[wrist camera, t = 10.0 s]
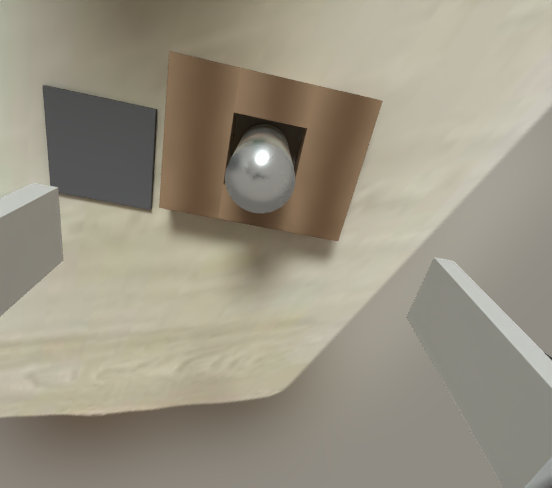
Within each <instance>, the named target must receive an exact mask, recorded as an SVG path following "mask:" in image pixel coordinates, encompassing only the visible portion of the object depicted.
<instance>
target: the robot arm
mask: <svg viewBox="0 0 552 488" xmlns="http://www.w3.org/2000/svg"><path fill="white" fill-rule="evenodd" d="M62 261H63V249H62V235H61V221H60V206H59V192H58V187H54V186H48V185H43V184H38V183H32V184H30V185H27V186H25V187H23V188H21V189H18V190H16V191H14V192H12V193H10V194H7V195H5V196H3V197H1V198H0V316H1V315H2V314H3V313H5V312H6V311H7V310H8V309H9V308H10V307H11V306H12V305H14V304H15V303H16V302H17V301H18V300H19V299H20V298H21V297H23V296H24V295H25V294H26V293H27V292H28V291H29V290H30V289H32V288H33V287H34V286H35V285H36V284H37V283H38V282H39V281H40V280H42V279H43V278H44V277H45V276H46V275H47V274H48V273H49V272H51V271H52V270H53V269H54V268H55V267H56V266H57V265H58V264H60V263H61V262H62ZM407 319H408V321H409V323H410V325H411V326H412V328H413V329H414V332H415V333H416V335H417V337H418V339H419V340H420V342H421V344H422V346H423V347H424V349H425V351H426V353H427V355H428V356H429V358H430V360H431V362H432V364H433V365H434V367H435V369H436V371H437V372H438V374H439V376H440V378H441V380H442V381H443V383H444V385H445V387H446V389H447V390H448V392H449V394H450V395H451V397H452V399H453V401H454V403H455V405H456V406H457V408H458V410H459V412H460V413H461V415H462V417H463V419H464V420H465V422H466V424H467V426H468V428H469V429H470V431H471V433H472V435H473V436H474V438H475V440H476V442H477V444H478V445H479V447H480V449H481V450H482V453H483V454H484V456H485V458H486V460H487V461H488V463H489V465H490V467H491V468H492V470H493V472H494V474H495V475H496V477H497V479H498V481H499V483H500V485H501V486H502V488H552V358H551V357H550V356H549V355H547V354H546V353H544V352H543V351H542V350H541V349H540V348H539V347H538V346H537V345H536V344H535V343H534V342H533V341H532V340H531V339H530V338H529V337H528V336H527V335H526V334H525V333H524V332H523V331H522V330H521V329H520V328H519V327H518V326H517V325H516V324H515V323H514V322H513V321H512V320H511V319H510V318H509V317H508V316H507V315H506V314H505V313H504V312H503V311H502V310H501V309H500V308H499V307H498V306H497V304H495V302H494V301H493V300H491V298H490V297H488V295H486V293H485V292H484V291H483V290H481V288H480V287H479V286H478V285H477V284H476V283H475V282H474V281H473V280H472V279H471V278H470V277H469V276H468V275H467V274H466V273H465V272H464V271H463V270H462V269H461V268H460V267H459V266H458V265H457V264H456V263H455V262H454V261H451V260H445V259H440V258H435V257H434V259H433V261H432V263H431V265H430V267H429V269H428V271H427V273H426V276H425V278H424V280H423V282H422V284H421V286H420V289H419V291H418V293H417V296H416V297H415V299H414V302H413V304H412V306H411V308H410V310H409V312H408V314H407Z"/></svg>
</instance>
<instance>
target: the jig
mask: <svg viewBox="0 0 552 488" xmlns="http://www.w3.org/2000/svg"><path fill="white" fill-rule="evenodd" d="M381 104H382V101H381V100H377V99H372V98H368V97H364V96H359V95H355V94H351V93H347V92H342V91H338V90H334V89H329V88H325V87H321V86H316V85H312V84H308V83H304V82H299V81H295V80H291V79H286V78H282V77H278V76H273V75H269V74H265V73H260V72H256V71H252V70H248V69H243V68H239V67H235V66H230V65H226V64H222V63H217V62H213V61H209V60H205V59H200V58H196V57H192V56H187V55H183V54H179V53H174V52H170V51H169V65H168V80H167V96H166V111H165V127H164V142H163V158H162V173H161V189H160V204H159V208H164V209H170V210H175V211H180V212H186V213H191V214H196V215H202V216H207V217H212V218H218V219H223V220H228V221H234V222H239V223H244V224H249V225H255V226H260V227H265V228H271V229H276V230H281V231H287V232H292V233H297V234H303V235H308V236H313V237H319V238H324V239H329V240H335V241H338V240H339V237H340V233H341V230H342V227H343V224H344V221H345V218H346V214H347V211H348V208H349V205H350V202H351V199H352V196H353V192H354V189H355V186H356V183H357V180H358V177H359V174H360V170H361V167H362V164H363V161H364V158H365V155H366V152H367V148H368V145H369V142H370V139H371V136H372V133H373V130H374V126H375V123H376V120H377V117H378V114H379V111H380V107H381ZM237 113H239V114H243V115H248V116H253V117H257V118H262V119H266V120H271V121H275V122H280V123H284V124H289V125H294V126H298V127H303V131H302V135H301V139H300V144H299V148H298V152H297V157H296V161H295V165H294V172H295V187H294V191H293V193H292V195H291V197H290V198H289V200H288V201H287V202H286V203H285V204H284V205H283V206H282V207H280V208H279V209H277V210H275V211H272V212H269V213H253V212H249V211H247V210H245V209H243V208H241V207H240V206H238V205H237V204H236V203H235V202H234V201H233V200H232V198H231V197H230V195H229V193H228V191H227V188H226V184H225V173H226V168H227V165H228V163H229V161H230V155H231V148H232V142H233V135H234V128H235V121H236V115H237Z"/></svg>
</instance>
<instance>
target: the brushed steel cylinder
mask: <svg viewBox="0 0 552 488" xmlns="http://www.w3.org/2000/svg"><path fill="white" fill-rule="evenodd" d="M225 184H226V188H227V191H228V193H229V195H230V197H231V198H232V200H233V201H234V202H235V203H236V204H237V205H238V206H240V207H241V208H243V209H245V210H247V211H249V212H253V213H269V212H272V211H275V210H277V209H279V208H280V207H282V206H283V205H284V204H285V203H286V202H287V201H288V200H289V198H290V197H291V195H292V193H293V191H294V187H295V172H294V168H293V163H292V159H291V155H290V150H289V146H288V142H287V139H286V137H285V136H284V134H283V133H282V132H281V131H280V130H279V129H278V128H276V127H274V126H272V125H269V124H259V125H255V126H253V127H251V128H249V129H248V130H247V131H246V132H245V133H244V135H243V136H242V138H241V140H240V142H239V144H238V146H237V148H236V150H235V152H234V154H233V156H232V158H231V159H230V161H229V163H228V165H227V168H226V173H225Z"/></svg>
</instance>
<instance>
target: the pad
mask: <svg viewBox="0 0 552 488" xmlns="http://www.w3.org/2000/svg"><path fill="white" fill-rule="evenodd" d="M43 97H44V109H45V122H46V135H47V147H48V160H49V173H50V185H51V186H54V187H58V192H59V193H63V194H68V195H74V196H79V197H84V198H90V199H95V200H100V201H106V202H111V203H117V204H122V205H127V206H133V207H138V208H143V209H149V210H151V209H152V195H153V177H154V158H155V140H156V122H157V109H153V108H148V107H143V106H139V105H134V104H130V103H125V102H120V101H116V100H111V99H106V98H102V97H97V96H92V95H88V94H83V93H78V92H74V91H69V90H65V89H60V88H55V87H51V86H46V85H43Z"/></svg>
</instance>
